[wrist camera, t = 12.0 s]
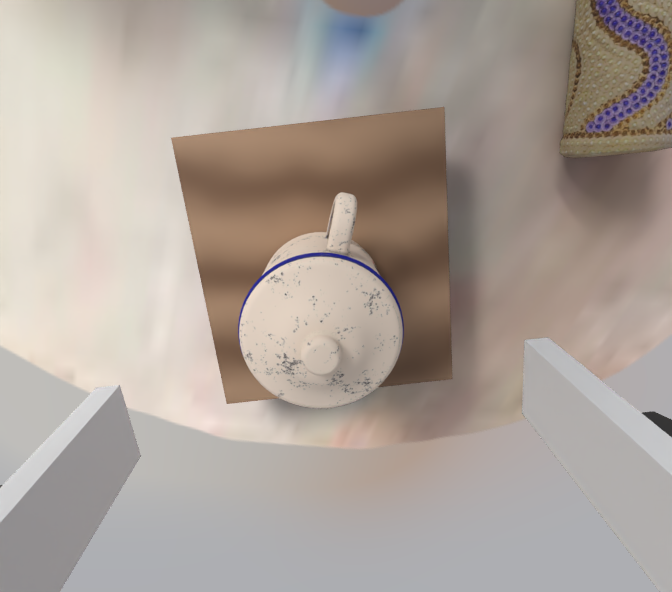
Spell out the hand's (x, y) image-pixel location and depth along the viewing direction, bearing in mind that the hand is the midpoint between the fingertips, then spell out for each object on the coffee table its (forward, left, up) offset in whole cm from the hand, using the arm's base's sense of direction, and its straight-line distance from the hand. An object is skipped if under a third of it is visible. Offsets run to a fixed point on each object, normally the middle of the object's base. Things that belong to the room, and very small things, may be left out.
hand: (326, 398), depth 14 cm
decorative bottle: (-17, +24, -25) cm, 38 cm away
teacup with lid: (0, 0, -18) cm, 18 cm away
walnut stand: (0, 0, -24) cm, 24 cm away
